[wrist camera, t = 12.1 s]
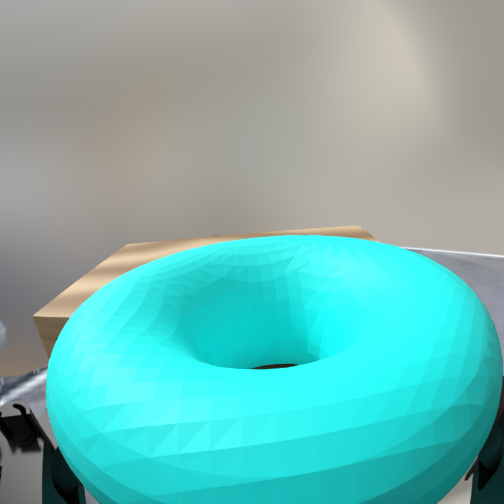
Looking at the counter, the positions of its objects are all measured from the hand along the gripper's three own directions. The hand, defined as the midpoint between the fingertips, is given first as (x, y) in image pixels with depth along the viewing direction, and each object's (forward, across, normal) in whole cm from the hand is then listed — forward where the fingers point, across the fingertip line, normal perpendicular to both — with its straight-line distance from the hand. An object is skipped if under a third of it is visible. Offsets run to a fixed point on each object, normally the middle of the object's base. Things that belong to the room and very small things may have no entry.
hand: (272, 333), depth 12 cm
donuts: (-4, 0, -6) cm, 8 cm away
